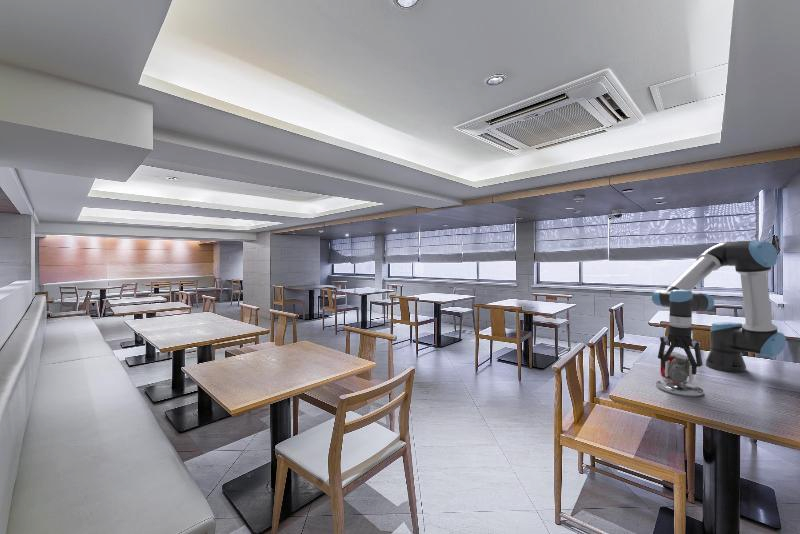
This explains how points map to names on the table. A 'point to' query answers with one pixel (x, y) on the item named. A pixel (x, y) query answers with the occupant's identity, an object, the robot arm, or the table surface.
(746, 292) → the robot arm
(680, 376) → the pipe fitting
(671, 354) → the canned food
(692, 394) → the duct flange
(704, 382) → the table surface
